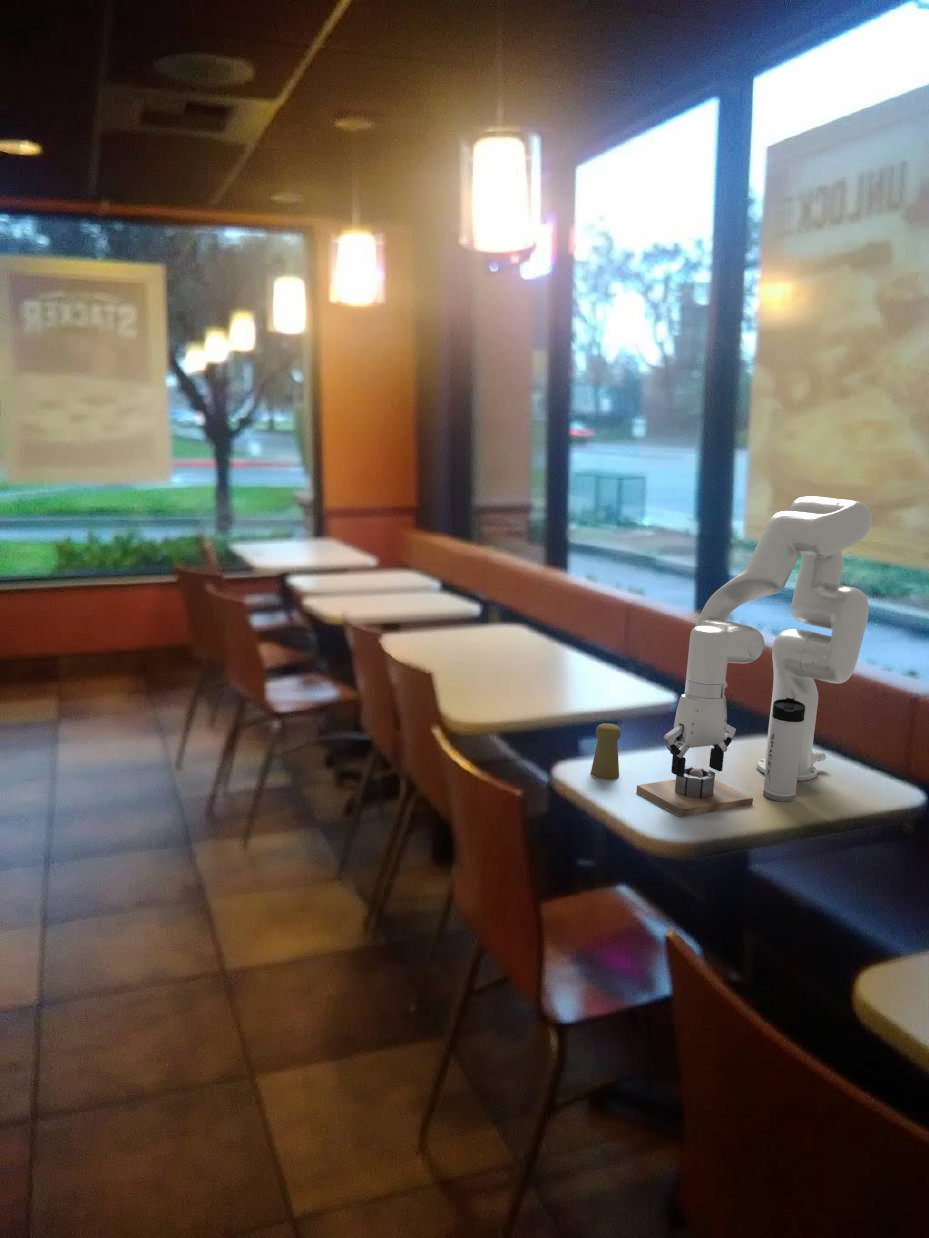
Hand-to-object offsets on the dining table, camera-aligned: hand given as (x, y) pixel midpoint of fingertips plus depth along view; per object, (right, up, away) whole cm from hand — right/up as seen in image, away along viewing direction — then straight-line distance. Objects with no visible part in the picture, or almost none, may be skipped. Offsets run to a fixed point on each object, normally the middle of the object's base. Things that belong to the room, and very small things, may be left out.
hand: (696, 772), depth 204 cm
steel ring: (0, -4, +1) cm, 4 cm away
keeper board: (0, -5, +1) cm, 6 cm away
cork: (-17, -3, +12) cm, 21 cm away
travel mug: (+18, -6, +5) cm, 19 cm away
